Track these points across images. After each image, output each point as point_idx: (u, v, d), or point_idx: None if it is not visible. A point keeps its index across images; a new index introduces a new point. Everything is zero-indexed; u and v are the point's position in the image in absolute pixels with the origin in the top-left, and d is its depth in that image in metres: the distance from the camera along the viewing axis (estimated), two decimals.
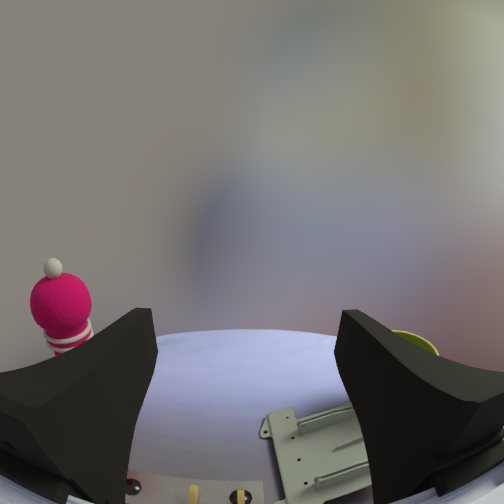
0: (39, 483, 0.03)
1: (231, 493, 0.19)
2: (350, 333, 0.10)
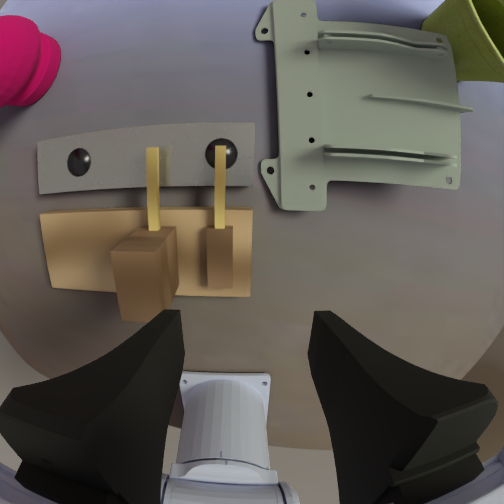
0: (83, 500, 0.03)
1: (208, 145, 0.17)
2: (320, 335, 0.09)
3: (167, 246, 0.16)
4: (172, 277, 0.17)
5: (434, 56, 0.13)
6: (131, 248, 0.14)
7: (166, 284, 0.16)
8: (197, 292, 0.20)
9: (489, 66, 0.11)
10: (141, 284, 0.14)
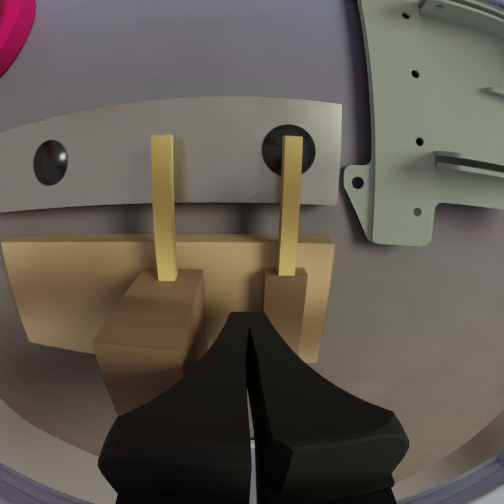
0: None
1: (267, 135, 0.10)
2: None
3: (195, 315, 0.09)
4: (201, 355, 0.10)
5: None
6: (130, 336, 0.07)
7: None
8: None
9: None
10: None
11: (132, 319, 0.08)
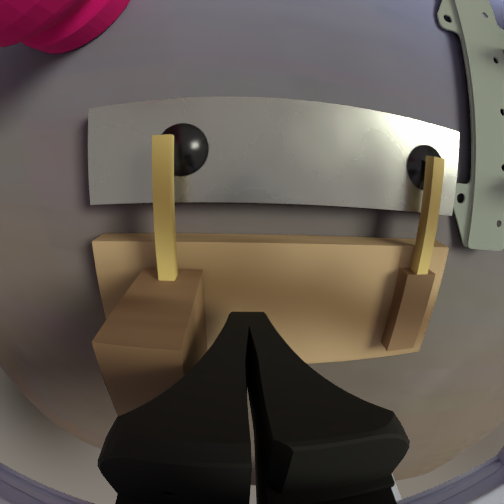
0: None
1: (411, 152, 0.10)
2: None
3: (195, 315, 0.09)
4: (201, 355, 0.10)
5: None
6: (130, 336, 0.07)
7: None
8: (362, 355, 0.13)
9: None
10: None
11: (132, 319, 0.08)
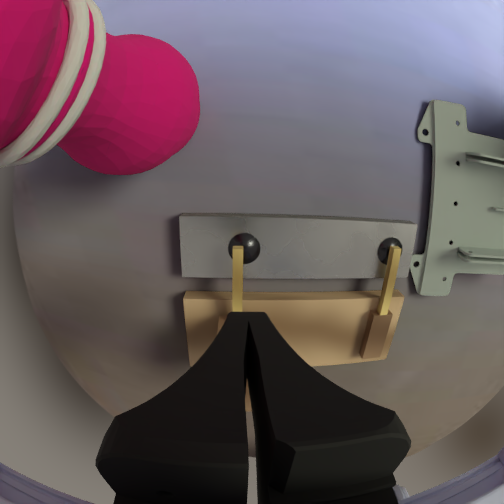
0: None
1: (381, 243, 0.19)
2: (248, 336, 0.09)
3: None
4: None
5: None
6: None
7: None
8: (347, 361, 0.22)
9: None
10: None
11: None
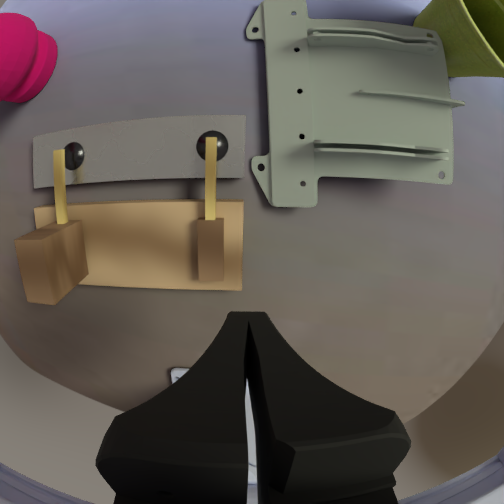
0: None
1: (199, 137, 0.17)
2: (248, 336, 0.09)
3: (64, 237, 0.16)
4: (74, 266, 0.17)
5: (424, 51, 0.13)
6: (29, 238, 0.13)
7: (62, 271, 0.15)
8: (188, 286, 0.20)
9: (480, 60, 0.11)
10: (35, 269, 0.14)
11: (34, 234, 0.14)
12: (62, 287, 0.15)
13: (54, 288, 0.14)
